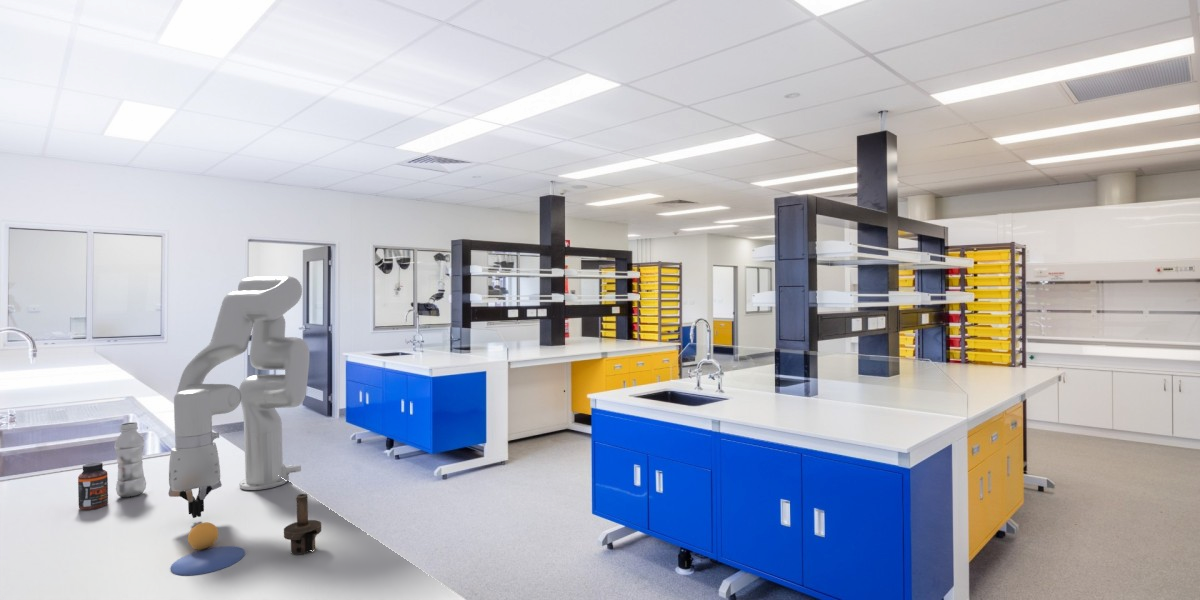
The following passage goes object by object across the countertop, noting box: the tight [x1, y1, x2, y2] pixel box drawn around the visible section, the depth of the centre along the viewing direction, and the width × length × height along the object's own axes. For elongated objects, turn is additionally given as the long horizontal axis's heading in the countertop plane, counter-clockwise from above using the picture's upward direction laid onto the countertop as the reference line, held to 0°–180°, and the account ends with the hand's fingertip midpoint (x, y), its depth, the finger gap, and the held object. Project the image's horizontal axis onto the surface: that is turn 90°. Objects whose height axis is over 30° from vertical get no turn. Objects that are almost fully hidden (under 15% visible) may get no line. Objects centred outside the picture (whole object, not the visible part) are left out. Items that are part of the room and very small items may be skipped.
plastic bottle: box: [114, 421, 147, 498], centre depth 166 cm, size 6×7×20 cm
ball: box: [187, 521, 219, 550], centre depth 132 cm, size 6×6×6 cm
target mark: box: [169, 545, 246, 576], centre depth 126 cm, size 13×13×1 cm
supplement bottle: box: [77, 461, 109, 511], centre depth 158 cm, size 6×6×11 cm
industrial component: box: [283, 493, 322, 555], centre depth 130 cm, size 9×7×12 cm
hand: (196, 515), depth 147 cm, fingers closed
